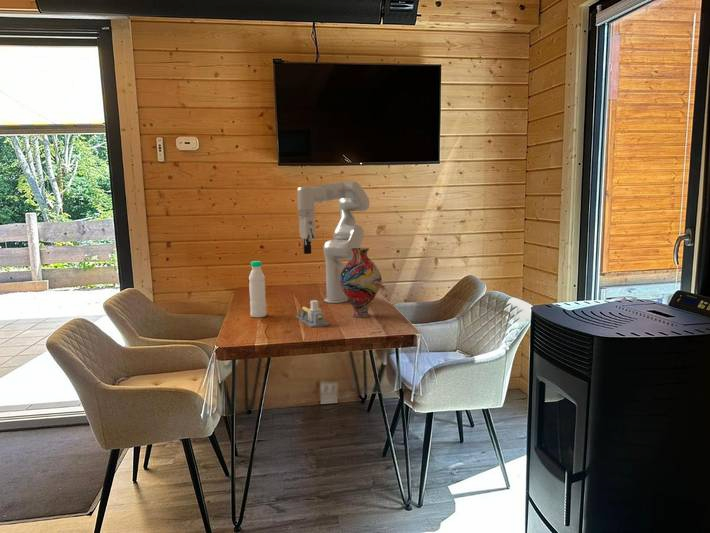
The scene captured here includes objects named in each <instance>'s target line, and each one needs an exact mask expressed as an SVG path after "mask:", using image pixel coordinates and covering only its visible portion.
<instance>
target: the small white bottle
mask: <svg viewBox="0 0 710 533" xmlns="http://www.w3.org/2000/svg"><path fill="white" fill-rule="evenodd" d="M309 303H310V305H309V306H310V308H308V320H310V321H313V313H314V312H322V308H319V301H318V300H316V299H314V300H310V301H309Z"/></svg>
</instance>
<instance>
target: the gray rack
mask: <svg viewBox="0 0 710 533" xmlns="http://www.w3.org/2000/svg"><path fill="white" fill-rule="evenodd" d="M308 309H309V308H308V307H307V306H302V308H301V309H299V308H298V309H297V311H298V313H297V314H298V315H295V318H296V319H298V320H299V321H301V322H302V323H303V324H305V325H307V326H308V327H310V328H316V327H317V328H318V327H325V326H326V327H327V326H330V322H328V321H326V320H324V313H323V312H322V311H321V312H314V313H313V321H310V320H308Z"/></svg>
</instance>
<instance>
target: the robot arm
mask: <svg viewBox="0 0 710 533" xmlns="http://www.w3.org/2000/svg"><path fill="white" fill-rule="evenodd" d="M296 191H297V193H296V194H297V196H296V197H297V217H298V218H299V224H298V226H299V228H298V229H299V237H300V238H301V241H302V245H303V254H304V255H310V254H312V242H313V239H316V238H317V232H316V231H317V230H316V222H315V204H320V203H323V202H328V201H335V200H338V208H339V209H338V210H339V213H340V218H339V221H338V223H337V225H336V227H335V229H334V232H333V235H332V236H333V237H332V238H333V239H329V240H326V241H325V243H324V244H323V249H322V250H323V256H324V261H325V280H326V281H325V283H326V284H325V286H326V297H325V298H323V302H325V303H327V304H340V303H346V302H348V301H349V300H348V298H347V296H346V295H345V293H344V292H343V290H342V289H341V287H340V284H339V279H340V275H341V272H342V270H343V268H344V267H345V265H344V262H343V261H342V259H343V260H351V259H352V258H353V252H352V250H351V249H352V248H361V245H362V243H363V241H364V234H365V233H364V229H363V227H362V226H361V225H358V224H356V222H357V221H356V218H355V216H354V214H353V213H352V212H364V211H366V210H368V209H369V208H370V199H369V197H368V195H367V193H366V192H365V190H364V188H363V187H362V185H360V183H359V182H357V181H355V180H350V181H336V182H330V183H323V184H318V185H317V184H316V185H310V186H300V187H298V188H297V190H296Z"/></svg>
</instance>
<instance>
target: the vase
mask: <svg viewBox="0 0 710 533" xmlns="http://www.w3.org/2000/svg"><path fill="white" fill-rule="evenodd" d="M351 250H352V252H353V258H352V259H349V261H348V262H347V263H346V264H345V265H344V268H343V270H342V272H341V275H340V279H339V284H340V287H341V289H342V290H343V292H344V293H345V295H346V296H347V298H348V301H349V302H350V303H349V304H351V306H352V308H353V311H354V313H352V314H351V316H352V317H354V318H368V317H370V316H371V313H369V308H370V306H371V304H372V302H373V300H374V299H375V297H376V296H377V294H378V292H379V290H380V289H381V287H382V284H383V283H382V282H383V280H382V274H381V272H380V270H379V269H378V268H379V267H378V266H377V265H376V264H375V263H374V262H373V261H372V260H371V259H370V258H369V257H368V252H369V250H370V248H368V247H359V248H352V249H351Z"/></svg>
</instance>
